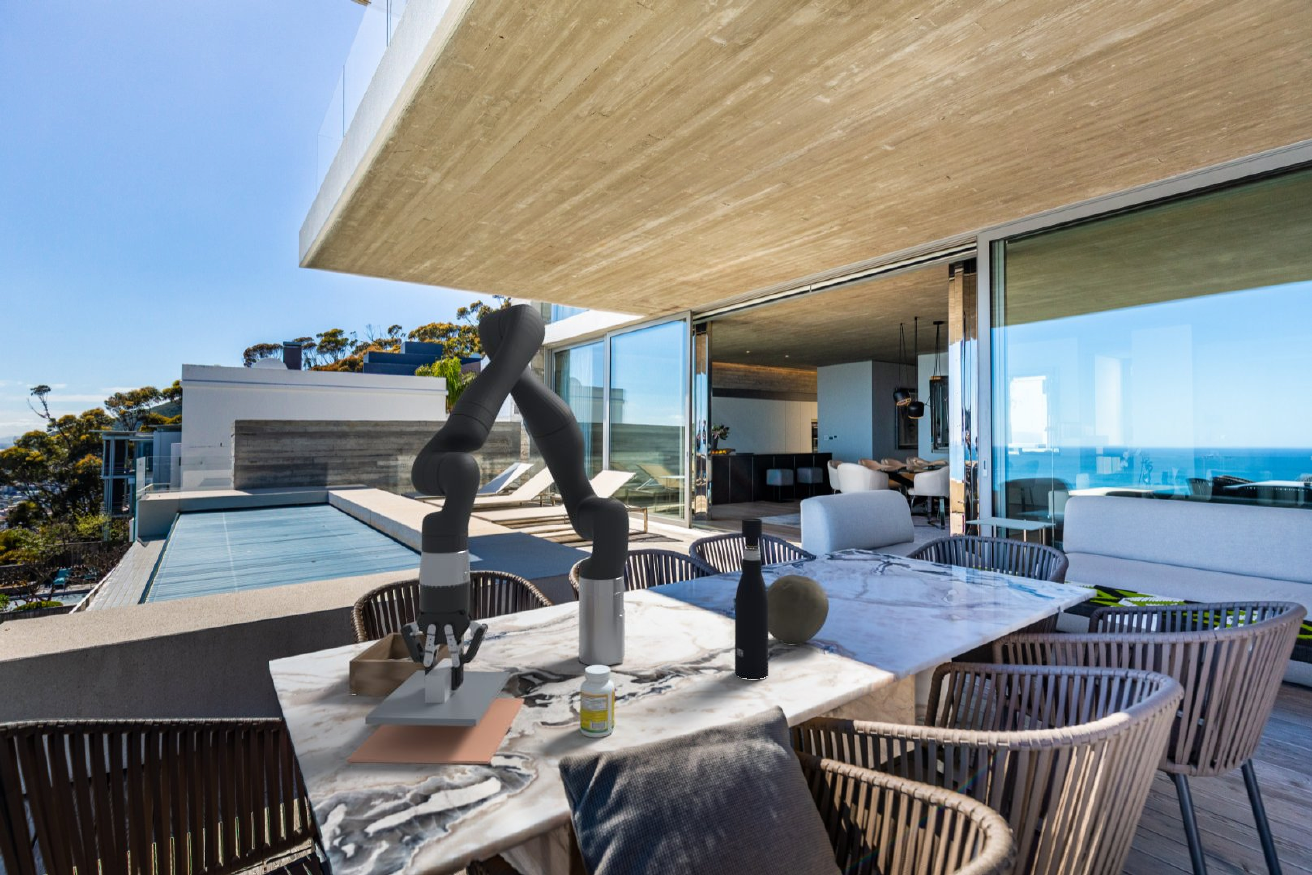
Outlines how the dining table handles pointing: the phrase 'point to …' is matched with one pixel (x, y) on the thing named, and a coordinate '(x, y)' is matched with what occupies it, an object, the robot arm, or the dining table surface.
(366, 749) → the mat
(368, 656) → the box
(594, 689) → the supplement bottle
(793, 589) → the cantaloupe
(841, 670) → the dining table surface
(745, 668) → the black water bottle
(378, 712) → the lid
